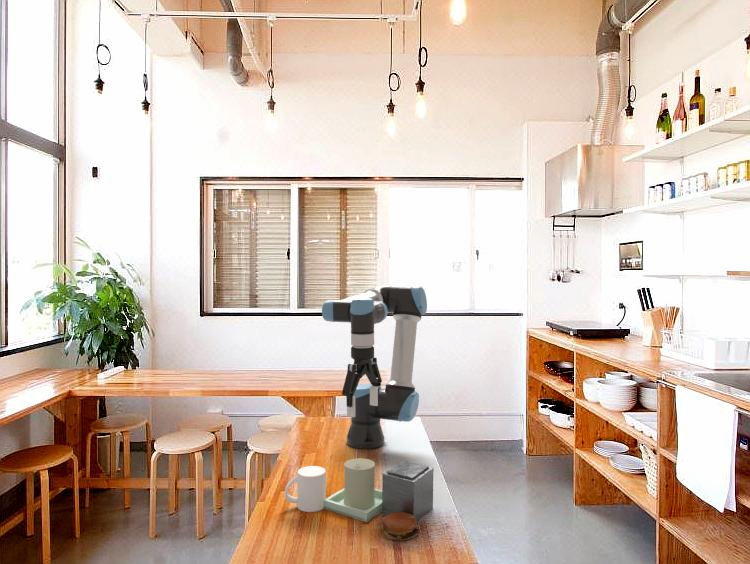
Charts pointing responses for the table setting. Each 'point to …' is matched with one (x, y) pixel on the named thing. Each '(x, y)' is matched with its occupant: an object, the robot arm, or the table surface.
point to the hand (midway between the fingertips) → (362, 410)
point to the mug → (309, 489)
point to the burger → (399, 526)
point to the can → (359, 483)
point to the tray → (365, 515)
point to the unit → (408, 489)
